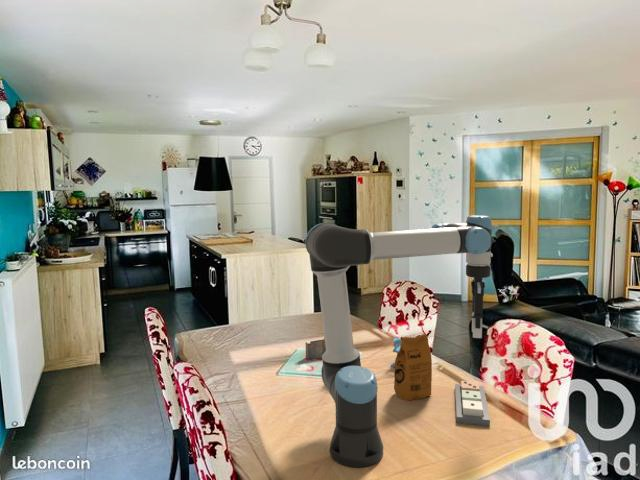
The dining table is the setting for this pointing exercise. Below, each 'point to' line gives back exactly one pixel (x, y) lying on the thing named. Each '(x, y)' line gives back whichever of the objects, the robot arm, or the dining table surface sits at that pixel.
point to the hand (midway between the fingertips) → (476, 334)
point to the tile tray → (466, 418)
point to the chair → (396, 347)
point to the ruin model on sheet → (315, 349)
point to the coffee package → (413, 368)
